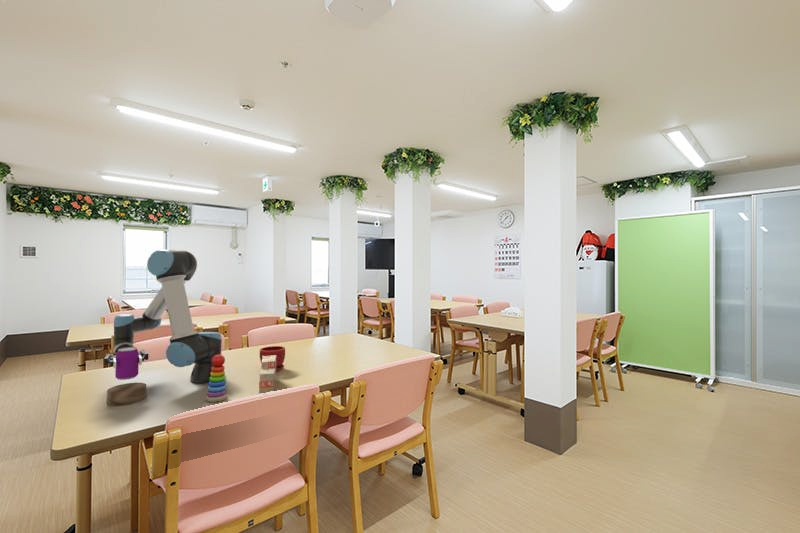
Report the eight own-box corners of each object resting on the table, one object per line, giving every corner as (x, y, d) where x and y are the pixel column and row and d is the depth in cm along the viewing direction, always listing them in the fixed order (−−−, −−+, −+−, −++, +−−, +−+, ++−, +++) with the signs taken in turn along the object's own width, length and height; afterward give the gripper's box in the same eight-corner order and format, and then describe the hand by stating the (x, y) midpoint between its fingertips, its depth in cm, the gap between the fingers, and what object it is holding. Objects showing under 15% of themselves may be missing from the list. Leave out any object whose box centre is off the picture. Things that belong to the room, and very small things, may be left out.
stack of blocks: (273, 394, 158) (274, 366, 158) (258, 395, 156) (259, 367, 156) (276, 379, 179) (276, 354, 178) (262, 380, 177) (263, 355, 177)
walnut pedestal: (153, 394, 155) (153, 383, 155) (128, 406, 142) (128, 393, 142) (125, 393, 156) (125, 381, 156) (98, 404, 143) (98, 392, 143)
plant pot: (289, 367, 199) (289, 345, 198) (277, 374, 186) (277, 351, 186) (267, 365, 201) (268, 344, 201) (254, 372, 188) (254, 350, 188)
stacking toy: (218, 403, 146) (219, 357, 146) (201, 401, 148) (202, 356, 148) (231, 396, 154) (231, 353, 154) (215, 395, 155) (215, 352, 155)
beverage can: (121, 374, 152) (122, 346, 151) (141, 374, 153) (142, 346, 153) (111, 380, 144) (111, 351, 144) (132, 380, 146) (133, 350, 146)
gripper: (151, 356, 169) (158, 368, 152) (94, 363, 156) (94, 377, 138) (152, 340, 169) (158, 350, 151) (95, 346, 156) (95, 357, 138)
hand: (128, 363), depth 145 cm, fingers closed on beverage can, 8 cm apart
